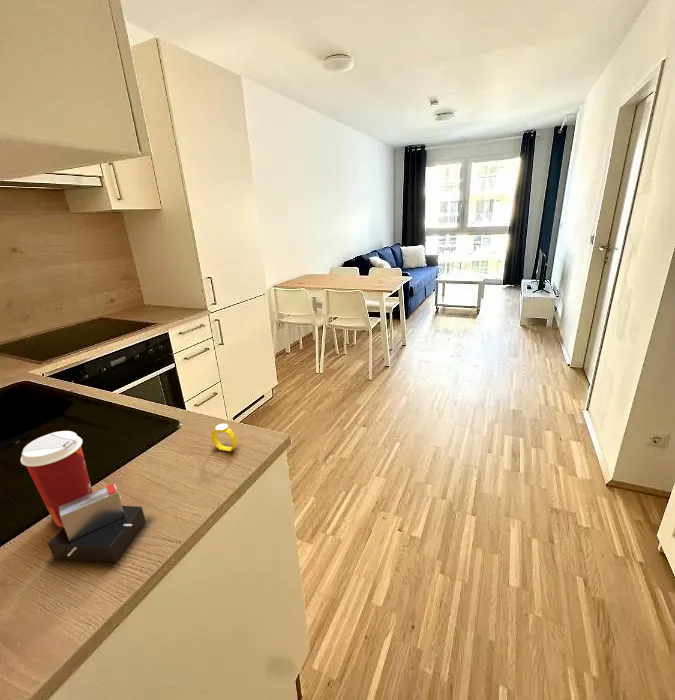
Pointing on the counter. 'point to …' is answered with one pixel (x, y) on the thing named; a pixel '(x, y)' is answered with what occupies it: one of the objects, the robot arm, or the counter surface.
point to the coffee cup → (57, 469)
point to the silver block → (91, 512)
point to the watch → (224, 428)
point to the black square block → (100, 540)
